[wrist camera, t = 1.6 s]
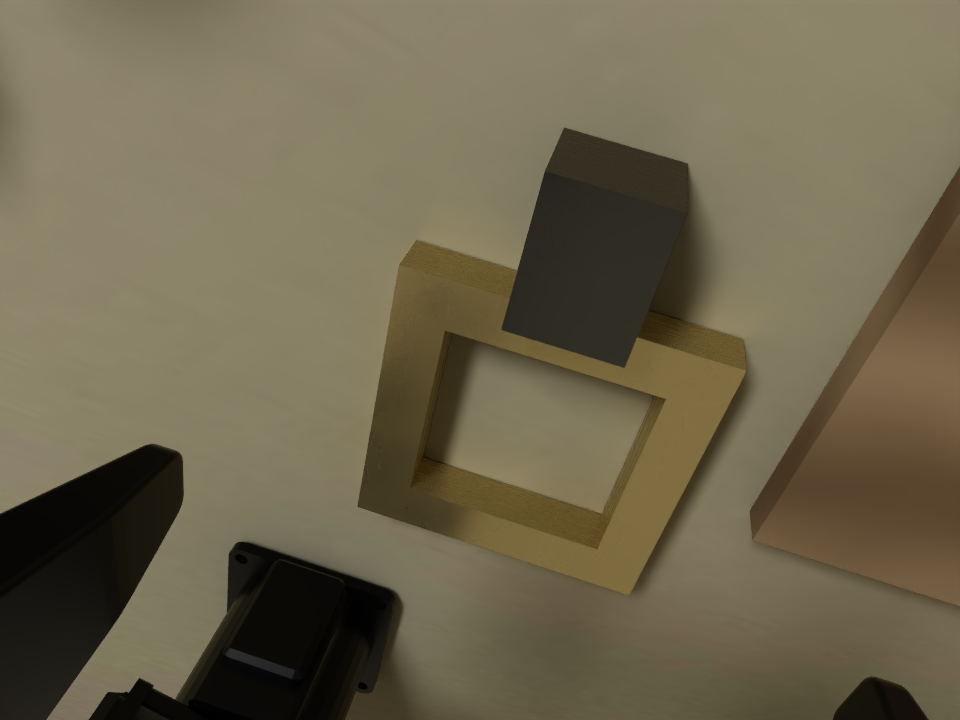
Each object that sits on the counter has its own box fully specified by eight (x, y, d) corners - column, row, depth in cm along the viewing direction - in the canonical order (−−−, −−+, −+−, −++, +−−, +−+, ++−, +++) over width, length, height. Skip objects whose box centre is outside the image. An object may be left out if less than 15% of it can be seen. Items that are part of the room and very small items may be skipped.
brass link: (631, 559, 25) (625, 635, 23) (373, 475, 26) (340, 540, 23) (814, 200, 18) (833, 256, 15) (443, 92, 18) (405, 129, 16)
